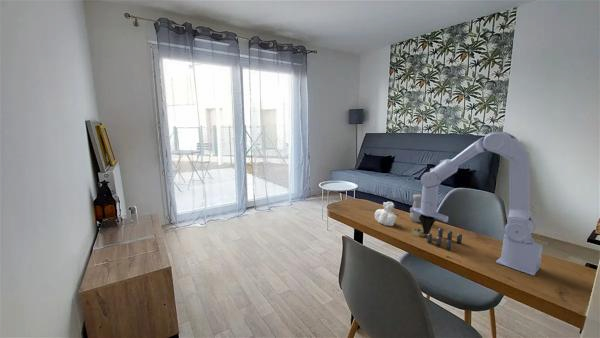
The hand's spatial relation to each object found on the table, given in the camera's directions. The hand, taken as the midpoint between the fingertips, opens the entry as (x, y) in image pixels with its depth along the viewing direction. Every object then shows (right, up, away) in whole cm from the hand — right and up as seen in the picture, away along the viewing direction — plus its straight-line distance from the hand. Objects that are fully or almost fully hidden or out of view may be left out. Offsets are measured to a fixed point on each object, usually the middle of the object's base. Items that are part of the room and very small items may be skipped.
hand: (426, 233), depth 103 cm
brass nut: (-2, -1, +3) cm, 4 cm away
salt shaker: (+4, +1, +18) cm, 19 cm away
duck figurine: (-11, +1, +15) cm, 19 cm away
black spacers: (+4, -2, -5) cm, 7 cm away
